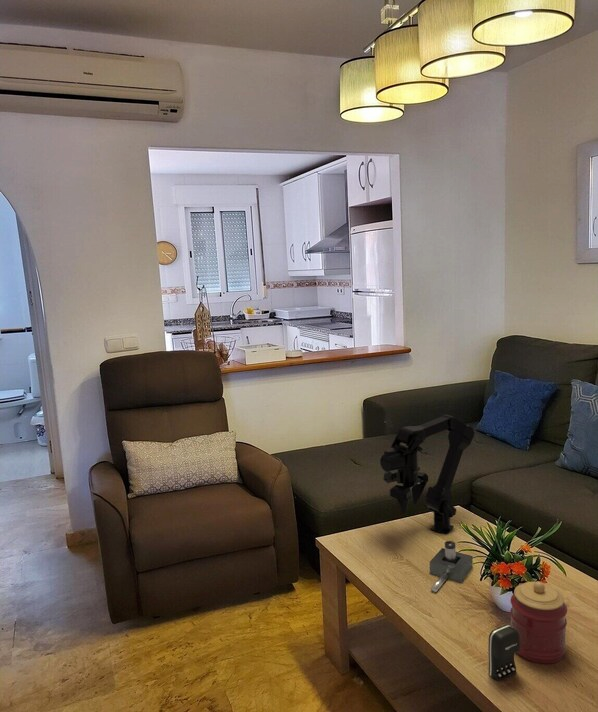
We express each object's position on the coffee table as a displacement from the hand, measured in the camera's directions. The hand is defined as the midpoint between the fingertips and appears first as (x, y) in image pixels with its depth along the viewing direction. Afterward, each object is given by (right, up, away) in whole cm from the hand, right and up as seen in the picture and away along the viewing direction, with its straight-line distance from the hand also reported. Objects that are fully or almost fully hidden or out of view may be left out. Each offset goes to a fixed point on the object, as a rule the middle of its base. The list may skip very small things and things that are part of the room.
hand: (409, 508), depth 200 cm
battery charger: (+10, -23, -63) cm, 68 cm away
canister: (+22, -21, -54) cm, 62 cm away
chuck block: (+7, -16, -21) cm, 27 cm away
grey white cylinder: (+10, -14, -18) cm, 24 cm away
